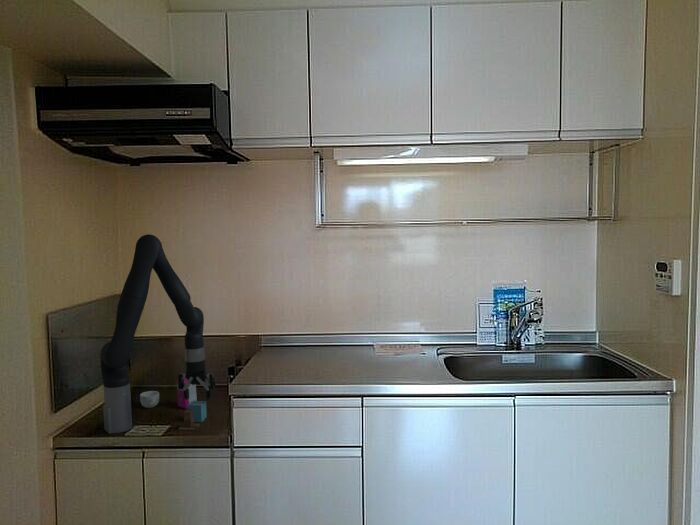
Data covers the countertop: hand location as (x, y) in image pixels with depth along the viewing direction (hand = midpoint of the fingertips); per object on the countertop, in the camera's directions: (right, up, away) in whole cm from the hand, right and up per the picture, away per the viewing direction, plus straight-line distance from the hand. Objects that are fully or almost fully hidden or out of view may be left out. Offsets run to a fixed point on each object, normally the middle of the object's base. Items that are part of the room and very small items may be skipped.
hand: (197, 399), depth 227 cm
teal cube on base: (0, -8, 0) cm, 8 cm away
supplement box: (-9, -7, +16) cm, 20 cm away
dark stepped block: (-1, -9, -8) cm, 12 cm away
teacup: (-24, -7, +17) cm, 30 cm away
